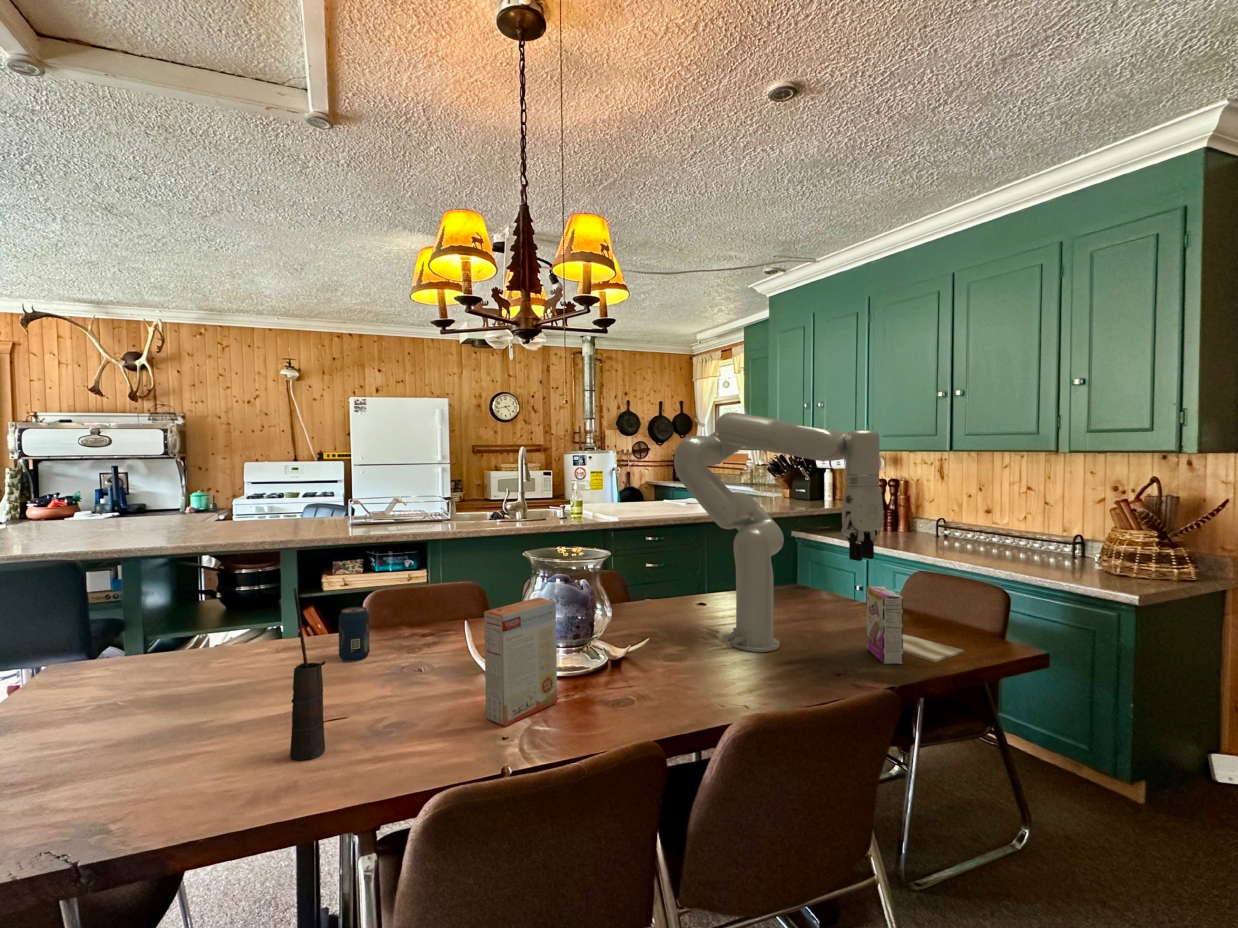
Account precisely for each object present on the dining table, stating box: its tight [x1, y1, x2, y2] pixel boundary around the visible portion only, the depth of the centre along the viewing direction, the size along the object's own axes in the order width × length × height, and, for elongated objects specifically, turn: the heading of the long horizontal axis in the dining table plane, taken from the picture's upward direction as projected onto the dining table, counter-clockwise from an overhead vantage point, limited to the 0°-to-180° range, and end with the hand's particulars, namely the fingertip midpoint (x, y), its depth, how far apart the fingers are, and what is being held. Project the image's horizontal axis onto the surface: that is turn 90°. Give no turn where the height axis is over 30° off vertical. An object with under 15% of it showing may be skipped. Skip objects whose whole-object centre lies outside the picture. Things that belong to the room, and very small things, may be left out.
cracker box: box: [483, 597, 558, 727], centre depth 120 cm, size 14×6×21 cm, turn 141°
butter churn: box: [289, 587, 327, 761], centre depth 103 cm, size 9×10×28 cm
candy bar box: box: [865, 585, 904, 665], centre depth 151 cm, size 11×5×16 cm, turn 179°
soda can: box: [338, 606, 371, 663], centre depth 151 cm, size 7×7×12 cm
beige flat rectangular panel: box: [903, 633, 965, 663], centre depth 159 cm, size 13×18×1 cm
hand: (861, 558), depth 146 cm, fingers open, 3 cm apart
